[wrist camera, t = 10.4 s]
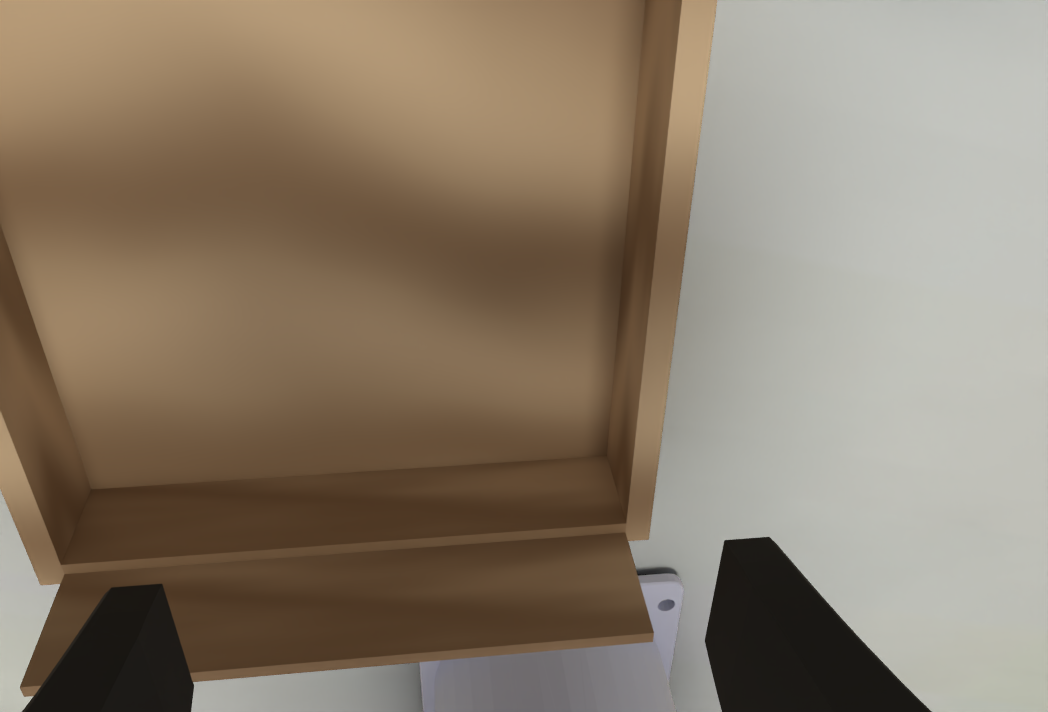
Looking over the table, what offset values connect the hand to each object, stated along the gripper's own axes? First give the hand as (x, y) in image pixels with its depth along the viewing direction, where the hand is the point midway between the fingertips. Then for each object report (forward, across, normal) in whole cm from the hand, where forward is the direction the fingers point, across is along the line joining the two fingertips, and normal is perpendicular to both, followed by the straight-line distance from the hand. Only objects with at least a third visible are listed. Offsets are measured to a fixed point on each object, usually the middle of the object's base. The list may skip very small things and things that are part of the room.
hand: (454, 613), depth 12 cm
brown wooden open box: (+10, +2, -1) cm, 11 cm away
